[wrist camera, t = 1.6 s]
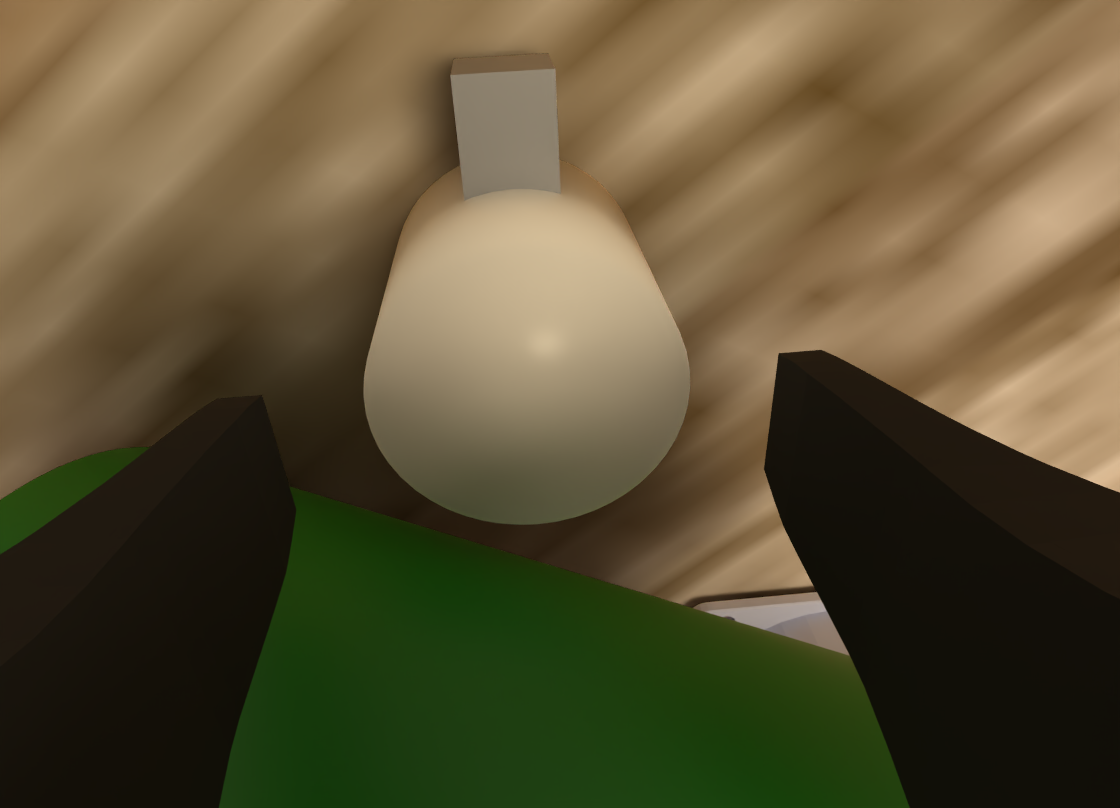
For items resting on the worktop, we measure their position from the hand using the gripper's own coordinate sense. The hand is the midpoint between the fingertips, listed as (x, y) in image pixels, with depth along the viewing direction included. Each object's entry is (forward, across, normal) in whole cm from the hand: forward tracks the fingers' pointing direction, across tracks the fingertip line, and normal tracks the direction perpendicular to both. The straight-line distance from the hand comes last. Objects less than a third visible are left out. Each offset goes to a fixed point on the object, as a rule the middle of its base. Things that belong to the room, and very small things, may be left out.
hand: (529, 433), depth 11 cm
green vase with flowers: (+2, +10, +7) cm, 12 cm away
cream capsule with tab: (+6, 0, 0) cm, 6 cm away
